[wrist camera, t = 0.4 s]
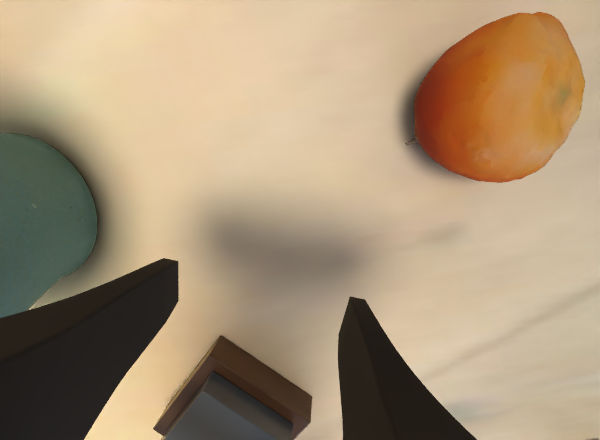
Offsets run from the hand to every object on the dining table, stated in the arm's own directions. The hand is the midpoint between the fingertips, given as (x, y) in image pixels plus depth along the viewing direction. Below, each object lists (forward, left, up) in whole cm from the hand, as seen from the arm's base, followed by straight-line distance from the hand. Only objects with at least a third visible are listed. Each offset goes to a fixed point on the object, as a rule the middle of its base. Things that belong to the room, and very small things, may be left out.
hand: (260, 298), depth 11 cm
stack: (-17, -6, -10) cm, 20 cm away
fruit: (+13, -5, -11) cm, 18 cm away
